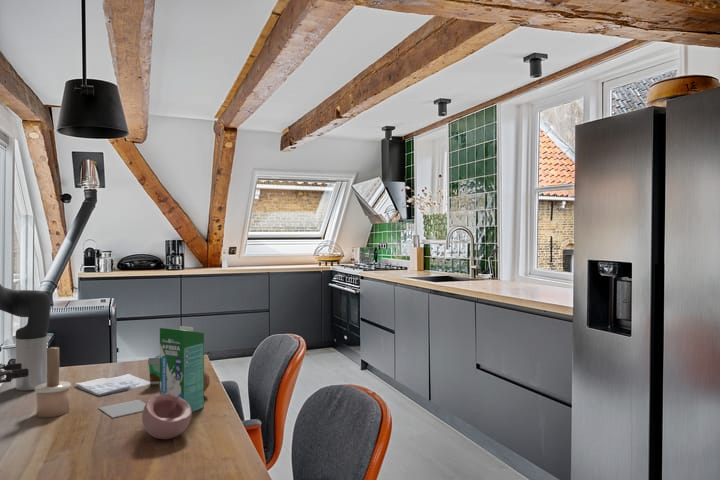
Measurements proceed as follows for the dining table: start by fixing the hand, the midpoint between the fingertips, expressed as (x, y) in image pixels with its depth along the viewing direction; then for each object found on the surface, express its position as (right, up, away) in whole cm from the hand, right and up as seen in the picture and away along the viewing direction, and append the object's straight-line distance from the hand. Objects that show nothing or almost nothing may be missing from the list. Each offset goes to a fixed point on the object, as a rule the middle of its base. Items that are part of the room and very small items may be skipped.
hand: (24, 369), depth 154 cm
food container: (+27, -14, +38) cm, 48 cm away
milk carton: (+42, -14, +8) cm, 45 cm away
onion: (+42, -14, +22) cm, 49 cm away
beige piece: (+5, -7, +5) cm, 10 cm away
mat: (+25, -14, +9) cm, 30 cm away
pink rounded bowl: (+46, -14, -15) cm, 50 cm away
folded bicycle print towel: (+10, -15, +35) cm, 39 cm away
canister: (+5, -14, +5) cm, 16 cm away
